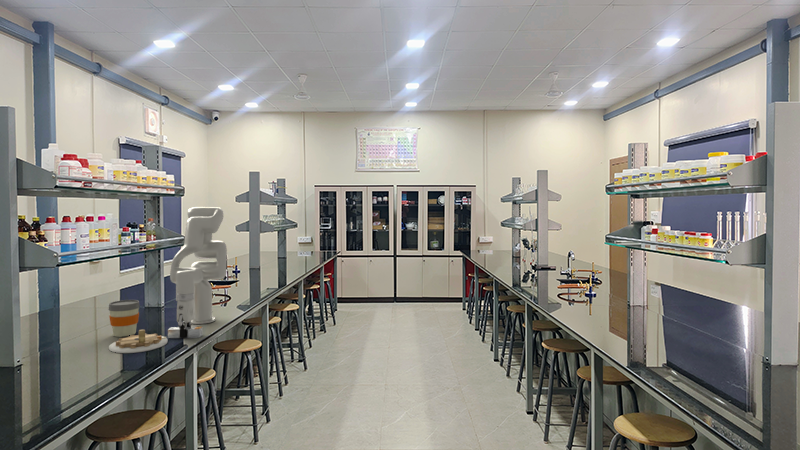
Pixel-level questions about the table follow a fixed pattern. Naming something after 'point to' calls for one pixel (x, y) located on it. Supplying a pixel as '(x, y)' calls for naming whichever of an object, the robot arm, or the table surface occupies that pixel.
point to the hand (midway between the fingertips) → (185, 335)
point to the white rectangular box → (191, 332)
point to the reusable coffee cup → (124, 317)
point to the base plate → (138, 349)
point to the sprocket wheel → (138, 340)
